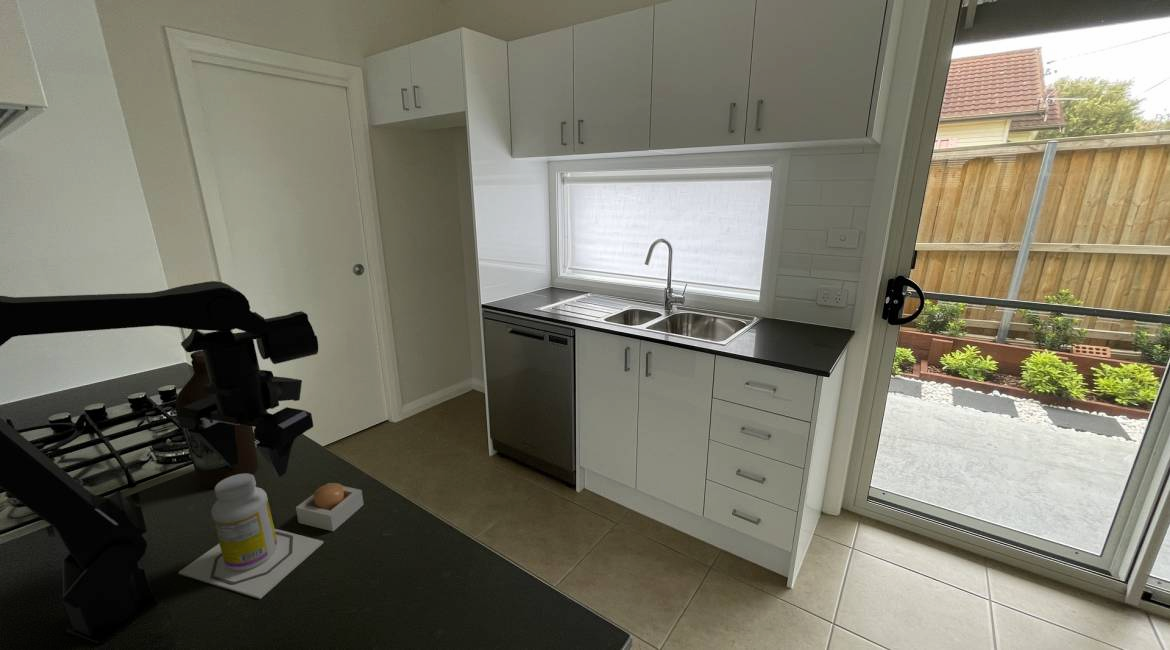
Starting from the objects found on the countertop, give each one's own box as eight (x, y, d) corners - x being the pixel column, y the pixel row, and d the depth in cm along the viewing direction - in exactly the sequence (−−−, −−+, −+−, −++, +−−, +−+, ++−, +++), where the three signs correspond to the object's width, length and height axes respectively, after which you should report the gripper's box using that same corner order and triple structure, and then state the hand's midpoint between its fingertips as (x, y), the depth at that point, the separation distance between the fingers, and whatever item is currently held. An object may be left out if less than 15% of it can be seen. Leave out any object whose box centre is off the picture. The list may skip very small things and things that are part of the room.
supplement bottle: (249, 538, 75) (232, 467, 71) (288, 541, 74) (273, 470, 70) (213, 571, 68) (193, 495, 65) (255, 575, 68) (237, 499, 64)
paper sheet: (260, 599, 64) (259, 596, 64) (178, 573, 68) (178, 571, 68) (323, 542, 74) (323, 540, 74) (249, 523, 78) (249, 521, 78)
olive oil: (212, 462, 95) (183, 344, 88) (271, 456, 98) (248, 341, 90) (182, 494, 85) (147, 365, 78) (248, 486, 88) (221, 360, 81)
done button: (331, 514, 78) (328, 501, 77) (309, 509, 79) (307, 496, 78) (350, 498, 82) (348, 485, 81) (329, 493, 83) (327, 481, 82)
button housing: (333, 531, 77) (330, 515, 76) (298, 522, 79) (295, 507, 78) (363, 504, 83) (361, 490, 82) (331, 497, 85) (328, 482, 84)
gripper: (334, 359, 70) (349, 451, 75) (239, 347, 76) (259, 433, 80) (266, 390, 60) (288, 494, 65) (162, 373, 65) (189, 470, 70)
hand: (257, 469), depth 70 cm, fingers open, 9 cm apart
